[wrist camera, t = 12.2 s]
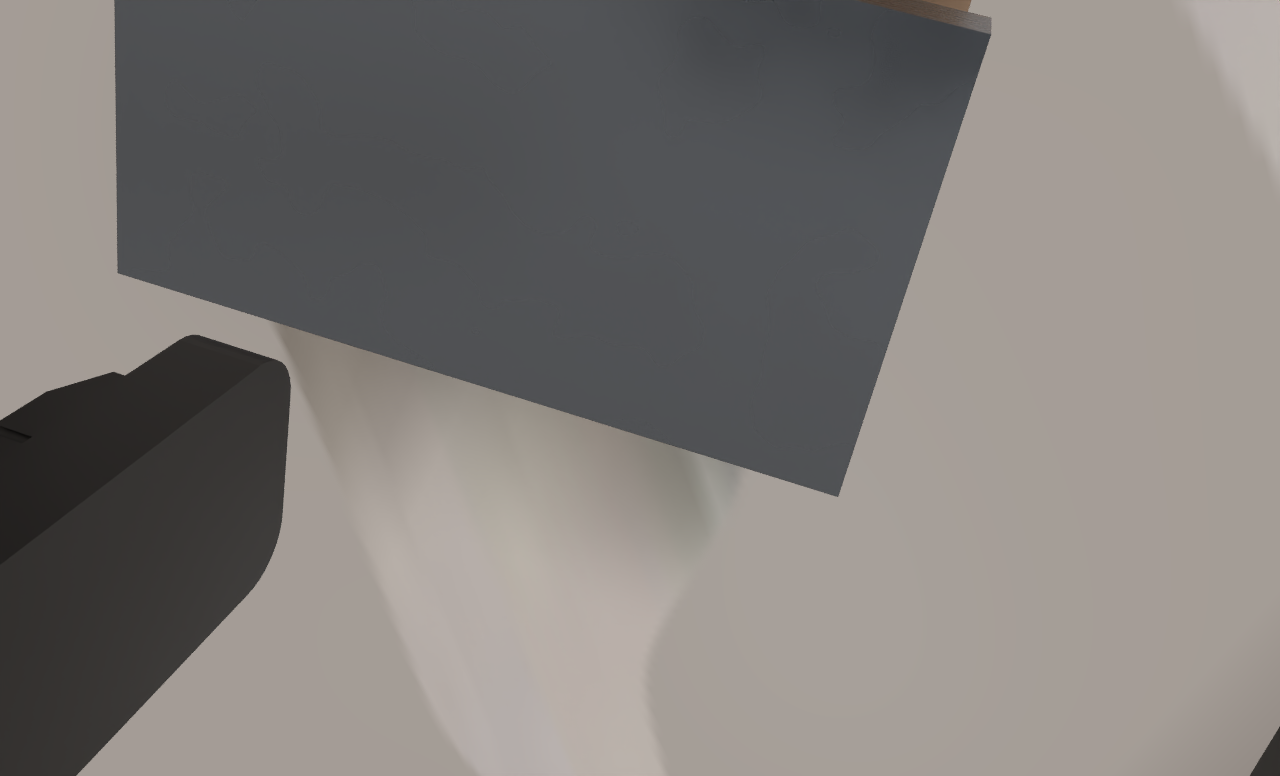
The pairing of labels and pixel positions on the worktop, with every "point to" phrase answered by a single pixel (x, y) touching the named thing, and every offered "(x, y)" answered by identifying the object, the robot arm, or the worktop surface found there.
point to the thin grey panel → (559, 194)
